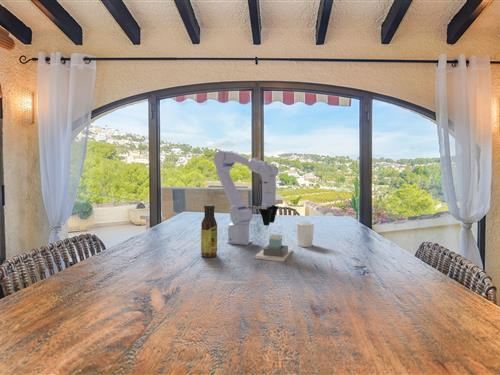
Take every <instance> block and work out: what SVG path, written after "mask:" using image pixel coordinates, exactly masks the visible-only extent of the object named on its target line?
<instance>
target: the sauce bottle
mask: <svg viewBox="0 0 500 375" xmlns="http://www.w3.org/2000/svg"><path fill="white" fill-rule="evenodd" d="M203 207H204V208H203V209H204V214H203V215H204V217H203V219H202V221H201V224H200V225H201V228H200V252H201V257H203V258H214V257H216V256H217V252H218V223H217V220H216V217H215V208H216V207H215V205H214V204H204V205H203Z"/></svg>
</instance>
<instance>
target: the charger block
mask: <svg viewBox="0 0 500 375" xmlns="http://www.w3.org/2000/svg"><path fill="white" fill-rule="evenodd" d="M268 240H269V242H268V245H269V248H270V249H280V250H281V249H282V245H283V234H275V233H274V234H271V235H269V239H268Z"/></svg>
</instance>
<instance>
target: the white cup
mask: <svg viewBox="0 0 500 375" xmlns="http://www.w3.org/2000/svg"><path fill="white" fill-rule="evenodd" d="M295 227H296V228H295V230H296V231H295V232H296V245H297V247H302V248H310V247H312V246H313V240H314V229H315V228H314V227H315V223H314V222H310V221H297V222H296V223H295Z"/></svg>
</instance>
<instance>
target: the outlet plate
mask: <svg viewBox="0 0 500 375" xmlns="http://www.w3.org/2000/svg"><path fill="white" fill-rule="evenodd" d="M293 251H294V250H293V248H292V247H289V245H284V244H282V249H281V250H280V249H270V248H269V244H267V245H266V246H265V247H264V248H263V249H261V250H260V251H259V252H258V253H256V254H255V255H254V259H257V260H267V261H275V262H285V261H286V259H287V258H288V257H289V255H290V254H291V253H292V252H293Z"/></svg>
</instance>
